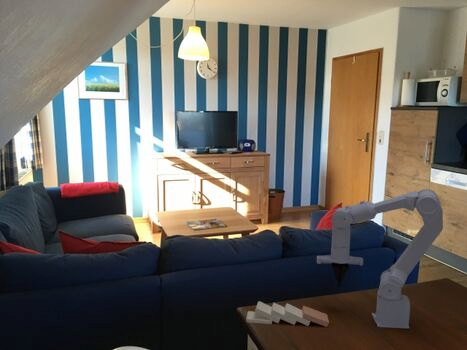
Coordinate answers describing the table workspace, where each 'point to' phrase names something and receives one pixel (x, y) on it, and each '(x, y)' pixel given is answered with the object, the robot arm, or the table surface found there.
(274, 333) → the table surface
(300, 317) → the ivory domino
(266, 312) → the ivory domino
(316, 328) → the table surface
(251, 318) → the ivory domino
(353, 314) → the table surface
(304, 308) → the terracotta domino
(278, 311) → the ivory domino
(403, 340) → the table surface
